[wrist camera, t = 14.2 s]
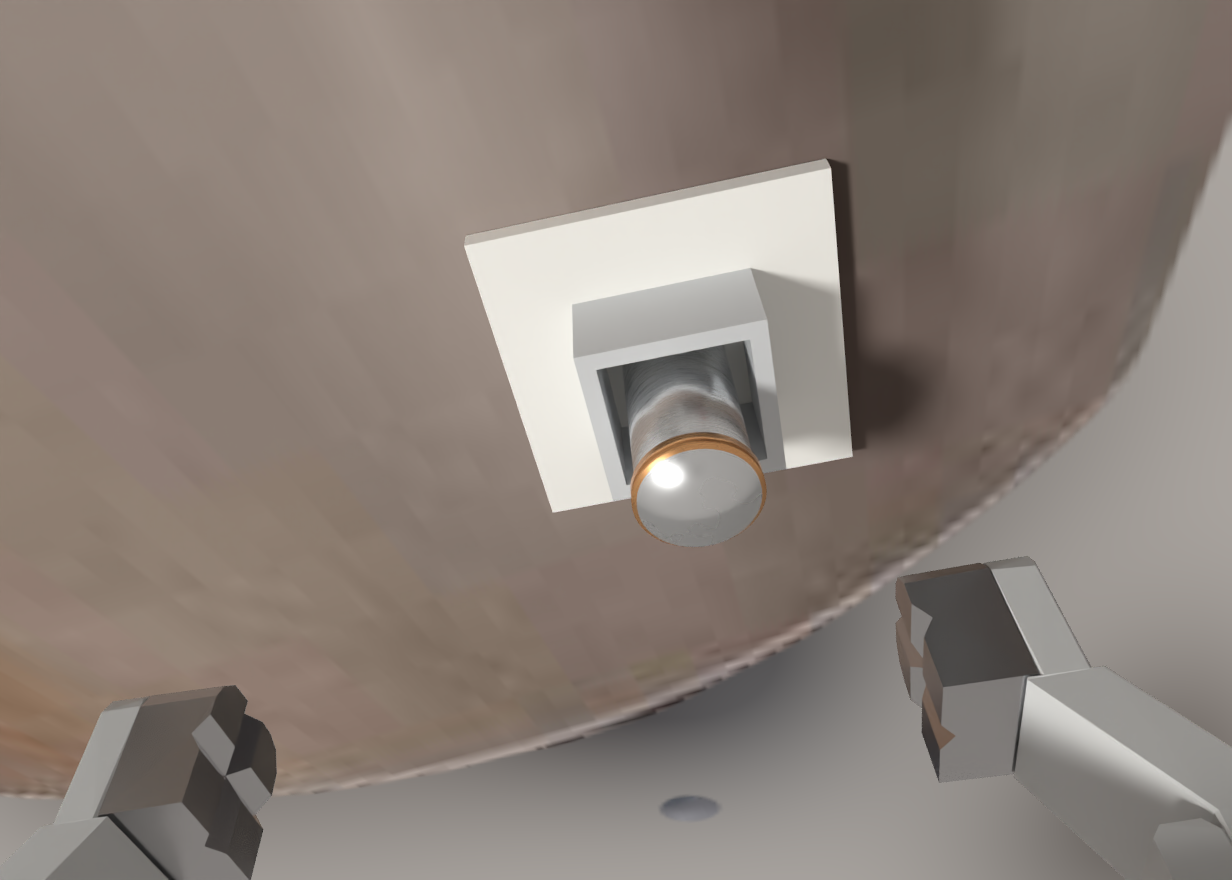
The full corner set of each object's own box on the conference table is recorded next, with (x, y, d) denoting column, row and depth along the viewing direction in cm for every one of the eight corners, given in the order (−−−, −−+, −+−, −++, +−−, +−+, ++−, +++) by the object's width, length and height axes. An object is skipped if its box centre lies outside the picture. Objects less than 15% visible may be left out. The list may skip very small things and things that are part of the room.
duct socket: (553, 500, 53) (552, 573, 49) (465, 235, 43) (455, 297, 39) (848, 444, 52) (874, 514, 47) (825, 158, 42) (856, 213, 38)
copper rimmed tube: (607, 327, 46) (619, 463, 38) (721, 303, 45) (758, 435, 37) (630, 418, 49) (646, 561, 41) (737, 396, 48) (774, 536, 40)
